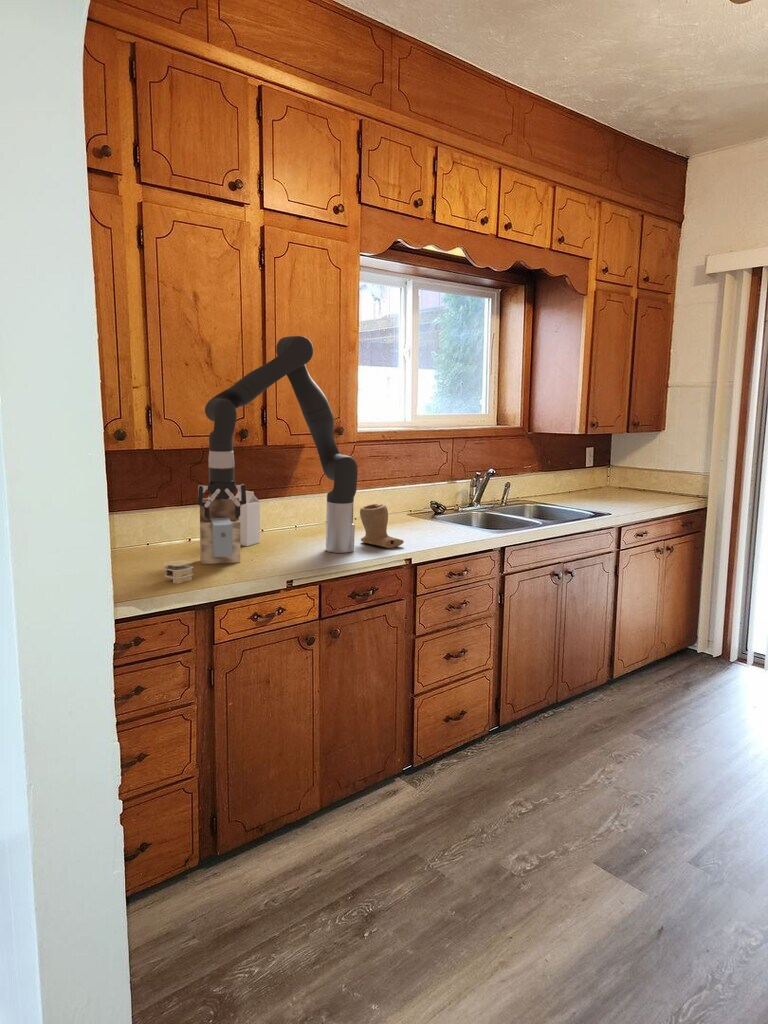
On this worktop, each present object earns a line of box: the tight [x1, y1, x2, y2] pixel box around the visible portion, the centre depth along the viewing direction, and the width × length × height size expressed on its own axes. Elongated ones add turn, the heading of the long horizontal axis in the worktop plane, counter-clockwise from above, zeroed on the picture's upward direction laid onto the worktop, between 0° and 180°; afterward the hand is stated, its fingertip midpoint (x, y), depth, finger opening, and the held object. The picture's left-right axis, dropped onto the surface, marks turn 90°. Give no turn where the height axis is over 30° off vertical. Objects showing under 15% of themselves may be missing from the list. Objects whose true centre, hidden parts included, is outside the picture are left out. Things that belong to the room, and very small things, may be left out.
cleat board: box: [199, 497, 241, 565], centre depth 215 cm, size 12×5×20 cm, turn 109°
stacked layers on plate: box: [163, 559, 194, 584], centre depth 194 cm, size 10×9×6 cm
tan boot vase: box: [359, 503, 404, 549], centre depth 245 cm, size 15×12×15 cm
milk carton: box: [234, 490, 261, 547], centre depth 240 cm, size 7×7×19 cm
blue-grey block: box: [211, 517, 232, 557], centre depth 211 cm, size 6×10×10 cm, turn 19°
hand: (222, 518), depth 207 cm, fingers open, 8 cm apart
